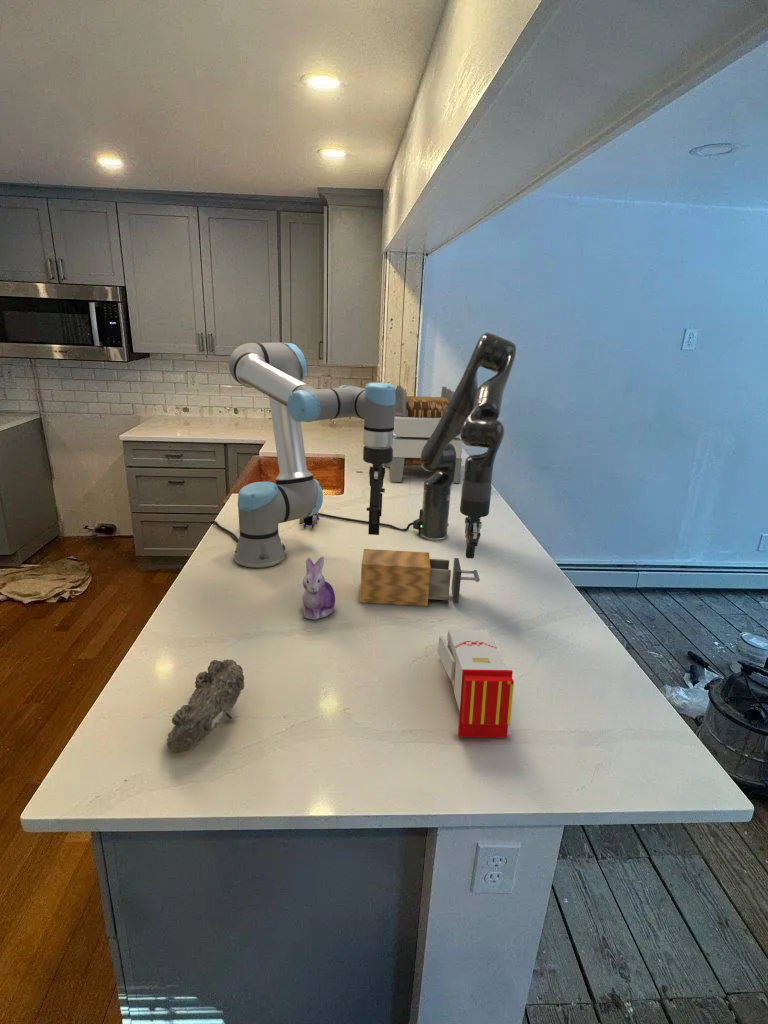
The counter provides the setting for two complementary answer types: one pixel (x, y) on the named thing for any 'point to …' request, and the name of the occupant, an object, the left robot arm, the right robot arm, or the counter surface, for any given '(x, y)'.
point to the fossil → (206, 705)
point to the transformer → (418, 430)
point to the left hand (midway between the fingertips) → (375, 524)
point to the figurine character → (309, 520)
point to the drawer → (446, 579)
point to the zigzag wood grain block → (395, 577)
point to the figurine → (317, 592)
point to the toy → (478, 682)
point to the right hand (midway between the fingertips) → (469, 557)
